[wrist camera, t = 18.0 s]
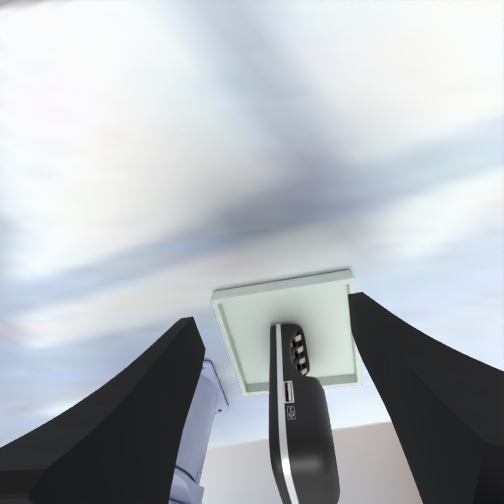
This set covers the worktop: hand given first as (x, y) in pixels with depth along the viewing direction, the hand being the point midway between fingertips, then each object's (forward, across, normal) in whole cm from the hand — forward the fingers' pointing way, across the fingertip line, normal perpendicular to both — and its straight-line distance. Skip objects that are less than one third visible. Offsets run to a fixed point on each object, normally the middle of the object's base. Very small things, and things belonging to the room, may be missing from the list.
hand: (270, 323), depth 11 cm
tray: (+10, 0, +10) cm, 14 cm away
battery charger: (+10, 0, +11) cm, 15 cm away
